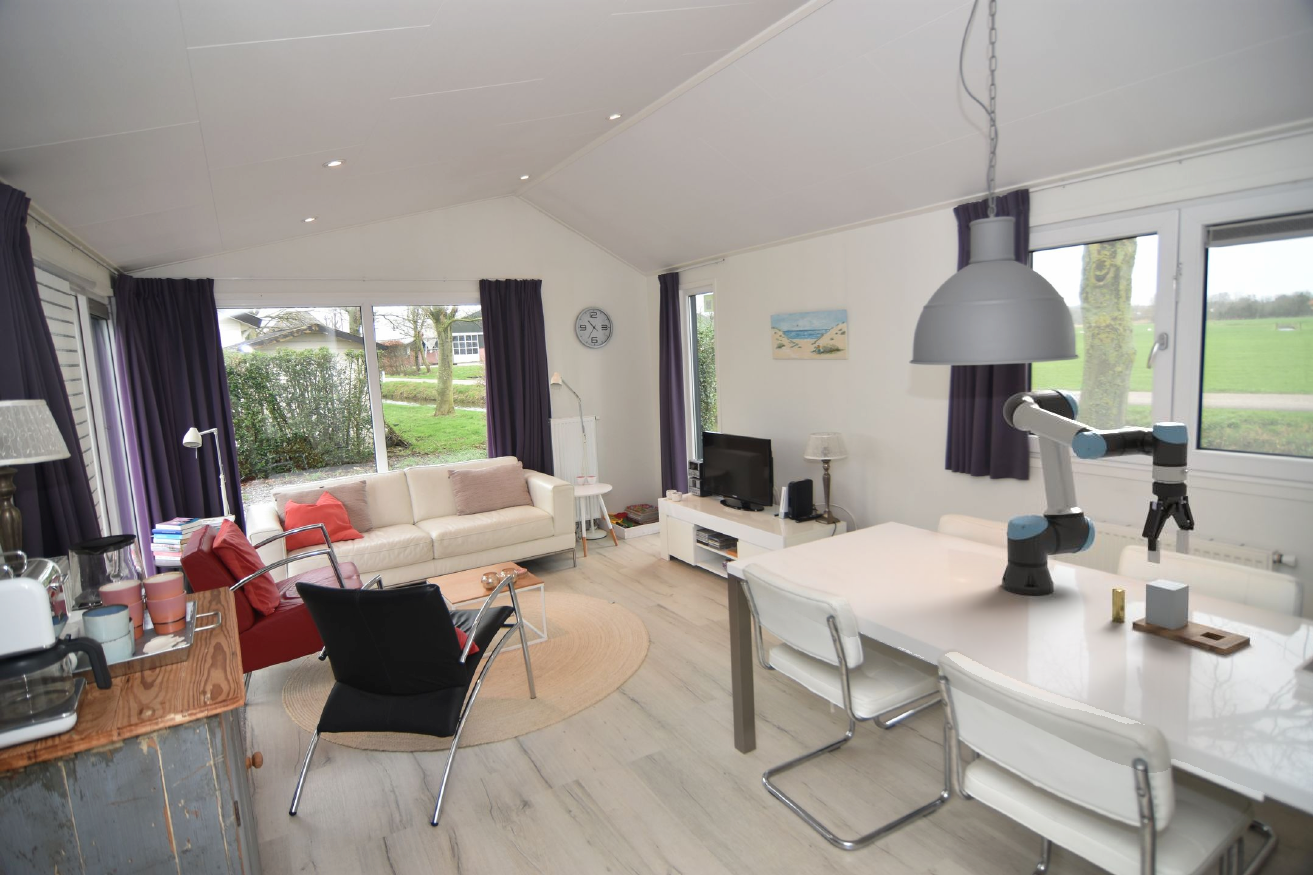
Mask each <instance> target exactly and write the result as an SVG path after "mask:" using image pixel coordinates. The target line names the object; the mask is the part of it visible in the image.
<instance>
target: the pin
mask: <svg viewBox="0 0 1313 875" xmlns="http://www.w3.org/2000/svg"><path fill="white" fill-rule="evenodd" d="M1111 594H1112V596H1111V598H1112V599H1111V611H1112V612H1111V618H1112V622H1116V623H1125V621H1126V611H1125V610H1126V609H1125V608H1126V606H1125V605H1126V590H1125V589H1123V588H1118V587H1117V588H1116V587H1114V588H1112V592H1111Z"/></svg>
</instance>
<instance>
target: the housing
mask: <svg viewBox="0 0 1313 875" xmlns="http://www.w3.org/2000/svg"><path fill="white" fill-rule="evenodd" d="M1189 592H1190V586H1189V584H1185V583H1181V582H1176V581H1172V580H1167V579H1164V578H1159V579H1156V580H1154V581H1151V582H1147V583H1146V584H1145V617H1146V622H1147V623H1150V624H1154V625H1157V626H1160V627H1164V628H1167V629H1171V630H1175V629H1178V628H1180V627H1183V626H1185V625H1188V621H1189V601H1190V599H1189V597H1190V596H1189V595H1190V593H1189Z"/></svg>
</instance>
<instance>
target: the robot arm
mask: <svg viewBox="0 0 1313 875" xmlns="http://www.w3.org/2000/svg"><path fill="white" fill-rule="evenodd" d="M1076 400H1077V399H1075V397H1074V396H1073V395H1072V394H1071V393H1070V392H1068V391H1067V390H1063V389H1047V390H1036V391H1021V392H1018V393H1016V394H1014V395H1012V396H1010V397H1009V398H1008V399H1007V400H1006V401H1005V403H1004V405H1003V409H1002V413H1003V417H1004V418H1003V419H1004V420H1005V421H1006V423H1007V424H1008V425H1009V426H1011V427H1013V428H1014V429H1017V430H1019V431H1025V432H1027V431H1030V432H1032V433H1033V434H1034V435H1035V436H1037V438H1038V445H1039V453H1040V461H1041V467H1042V468H1041V469H1042V476H1043V482H1044V491H1045V499H1046V507H1047V508H1046V510H1044V512H1043V513H1042V514H1043V515H1037V514H1036V515H1035V514H1033V515H1032V514H1031V515H1029V514H1028V515H1020V516H1017V517H1014V518H1012V519H1010V520H1009V521H1008V523H1007V527H1006V528H1007V529H1006V537H1007V539H1006V540H1007V541H1006V542H1007V547H1006V548H1007V564H1006V567H1005V570H1004V572H1003V576H1002V578H1001V587H1002V588H1003V589H1004V590H1005V591H1007V592H1011V593H1014V594H1018V595H1025V596H1044V595H1049V594H1051V593H1053V592H1054V590H1055V583H1054V581H1053V578H1052V575H1051V573H1050V570H1049V567H1048V560H1049V559H1048V556H1056V555H1064V554H1065V555H1066V554H1076V553H1081V552H1086V551H1087V550H1089V549H1090V548H1091V547H1092V545H1093V544H1094V541H1095V538H1096V530H1095V528H1096V527H1095V525H1094V523H1093V522H1092V520H1091V519H1090V518H1089V517H1088V516H1085V514H1084V510H1083V509H1082V508H1080V507H1079V506H1078V502H1077V500H1078V499H1077V495H1076V488H1075V487H1076V486H1075V480H1074V479H1075V478H1074V473H1073V471H1074V470H1073V465H1072V464H1073V463H1072V458H1071V450H1070V448H1071V449H1072V452H1073V453H1074V454H1075V455H1076V457H1077V458H1079V459H1082V460H1097V459H1103V458H1105V459H1106V458H1113V457H1126V456H1127V457H1128V456H1137V455H1140V456H1147V457H1152V475H1151V476H1152V477H1151V478H1152V480H1153V481H1152V482H1151V483H1152V484H1151V487H1152V488H1151V491H1152V495H1154V496H1157V500H1156V501H1155V500H1151V501H1149V507H1148V508H1149V509H1148V513H1147V516H1146V519H1145V523H1144V527H1143V530H1142V533H1141V537H1143V538H1144V539H1147V562H1149V563H1154V564H1158V565H1159V564H1161V539H1160V535H1161V533H1162V531H1163V528H1164V526H1165V524H1166V522H1167V520H1169V519H1170V518H1171V516H1172V518H1173V519H1174V522H1175V523H1176V525H1177V527H1178V528H1177V529H1176V541H1175V542H1176V544H1175V545H1176V553H1179V554H1184V555H1189V552H1190V531H1194V530H1195V520H1194V518H1193V513H1192V510H1191V506H1190V503H1189V502H1190V501H1189V496H1188V495H1187V492H1188V490H1187V488H1188V484H1187V482H1186V480H1188V478H1187V477H1188V474H1189V470H1188V447H1189V446H1188V445H1189V435H1188V433H1189V432H1188V427H1187V425H1186V424H1184V423H1180V422H1157V423H1155V424H1153V426H1152V428H1145V427H1141V426H1140V427H1139V426H1135V425H1134V426H1123V427H1121V428H1120V429H1119V428H1118V429H1108V430H1107V429H1106V430H1101V429H1096V428H1094V427H1091V426H1089V425H1086V424H1084V423H1081V422H1078V421H1076V420H1077V417H1078V415H1079V406H1078V402H1077V401H1076Z"/></svg>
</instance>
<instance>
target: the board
mask: <svg viewBox="0 0 1313 875" xmlns="http://www.w3.org/2000/svg"><path fill="white" fill-rule="evenodd" d="M1132 628H1133V629H1136V630H1140V631H1144V632H1146V633H1148V634H1149V633H1150V634H1153V635H1157V636H1160V637H1163V638H1166V639H1170V640H1172V641H1177V642H1179V643H1183V644H1187V645H1190V646H1193V647H1197V648H1200V649H1203V650H1206V651H1209V652H1212V653H1216V654H1220V655H1223V656H1226V655H1228V654H1231V653H1233V652H1235V651H1237V650H1239V649H1241V648H1244V647H1245V646H1248V645H1250V644H1251V637H1248V636H1244V635H1241V634H1238V633H1234V632H1231V631H1226V630H1223V629H1219V628H1215V627H1213V626H1209V625H1205V624H1200V623H1197V622H1194V621H1190V620H1188V625H1185V626H1183V627H1180V628H1178V629H1175V630H1171V629H1167V628H1164V627H1160V626H1157V625H1154V624H1150V623H1147V622H1146V616H1145V617H1142V618H1139V619H1137V620H1134V621H1132Z"/></svg>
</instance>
